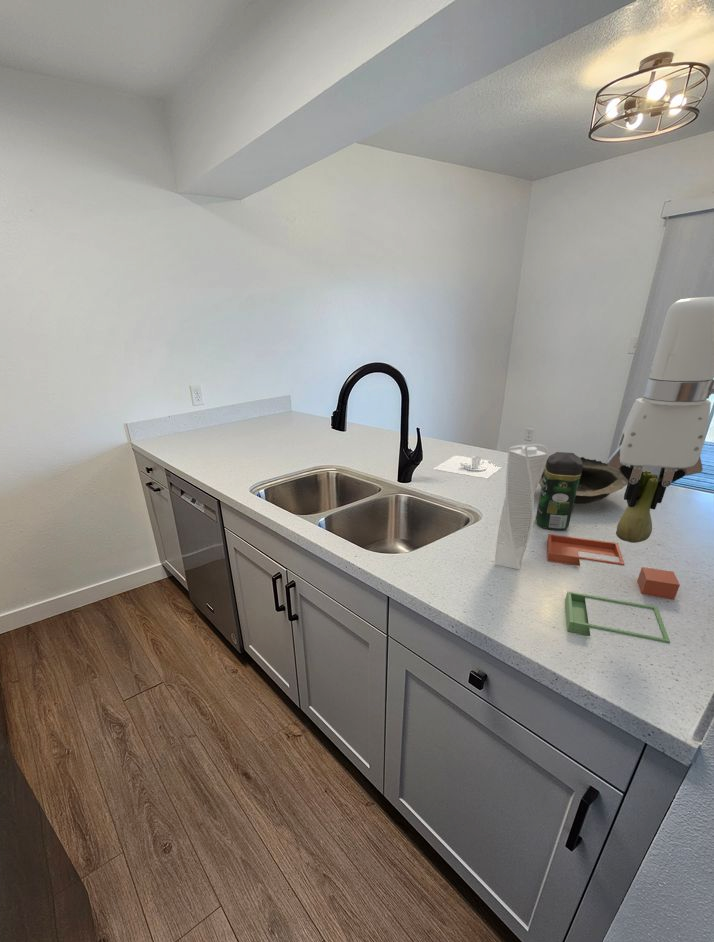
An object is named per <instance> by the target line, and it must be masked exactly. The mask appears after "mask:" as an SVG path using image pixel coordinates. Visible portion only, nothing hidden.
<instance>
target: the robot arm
mask: <svg viewBox="0 0 714 942" xmlns="http://www.w3.org/2000/svg"><path fill="white" fill-rule="evenodd" d="M711 395H714V296H699V297H689V298H681V299H679V300H676V301H675V302H673V303H672V304H671V305H670V307H669V308H668V309H667V312H666V315H665V319H664V322H663V325H662V329H661V333H660V335H659V339H658V343H657V346H656V350H655V354H654V357H653V361H652V364H651V368H650V371H649V375H648V379H647V383H646V386H645V389H644V393H643V396H642V397H639V398H636V399H635V401H634V402H633V404H632V407H631V409H630V411H629V413H628V415H627V418H626V420H625V424H624V426H623V429H622V431H621V435H620V438H619V441H618V444H617V448H616V450H615V451H614V452H613V453H612V454H611V456H610V457H609V458H608V459H607V460H606V464H607V465H608V466H609V467H611V468H613V469H615V470H617V471H620V472H621V473H622V474H623V475H624V476H625V477H626V478H627V480H628V484H627V485H626V488H625V492H624V495H623V500H624V501H626V503H627V507H628V506H629V507H634V506H635V503H636V500H637V497H638V493H639V490H640V487H641V485H640V483H639V482H640V480H639V479H640V476H641V473H642V471H643V468H644V467H652V468H660V471H659V475H658V477H657V479H658V481H659V482H658V485H657V488H656V491H655V494H654V497H653V500H652V503H651V507H650V510H656V508H657V506H658V504H661V503H662V501H663V499H664V495H665V493H666V490H667V488H668V487H670V486H671V485H672V484H673V483H675V482H677V481H679V480H680V479H682V478H684V477H686V476H687V477H688V476H692V475H696V474H700V473H702V472H703V470H704V468H703V463H702V459H701V454H702V452H703V447H704V443H705V440H706V436H707V432H708V426H709V420H710V415H711V408H712V407H711V405H712V402H711V401H710V400H709V398H710V397H711Z"/></svg>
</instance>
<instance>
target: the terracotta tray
mask: <svg viewBox="0 0 714 942" xmlns="http://www.w3.org/2000/svg"><path fill="white" fill-rule="evenodd" d="M579 553H586V554H593V555H601V556H607V557H615V558H618V560H619V561H614V560H608V559H601V558H592V557H587V556H581V555H580V554H579ZM546 558H547V559H546V560H547V562H551V563H556V564H557V563H558V564H564V565H571V566H578V567H581V561H580V560H583V561H584V560H585V561H590V562H591V561H592V562H599V563H604V564H605V563H606V564H611V565H620V566H625V562H624V561H625V560H624V558H623V554H622V551H621V548H620V546H619V543H618V542H612V541H605V540H598V539H592V538H591V539H590V538H582V537H575V536H569V535H568V536H567V535H560V534H559V535H558V534H551V533H548V534H547V538H546Z"/></svg>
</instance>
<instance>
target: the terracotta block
mask: <svg viewBox="0 0 714 942" xmlns="http://www.w3.org/2000/svg"><path fill="white" fill-rule="evenodd" d="M636 582H637V585H638V588H639V590H640V594H641V595H644V596H650V597H656V598H663V599H668V600H675V598H676V596H677V593H678V591H679V588H680V586H681V584H680V582H679V580H678V578H677V575H676V574H675V572H674V571H672V570H666V569H665V570H664V569H657V568H651V567H644V566H641V569H640V572H639V574H638V577H637V580H636Z"/></svg>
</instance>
